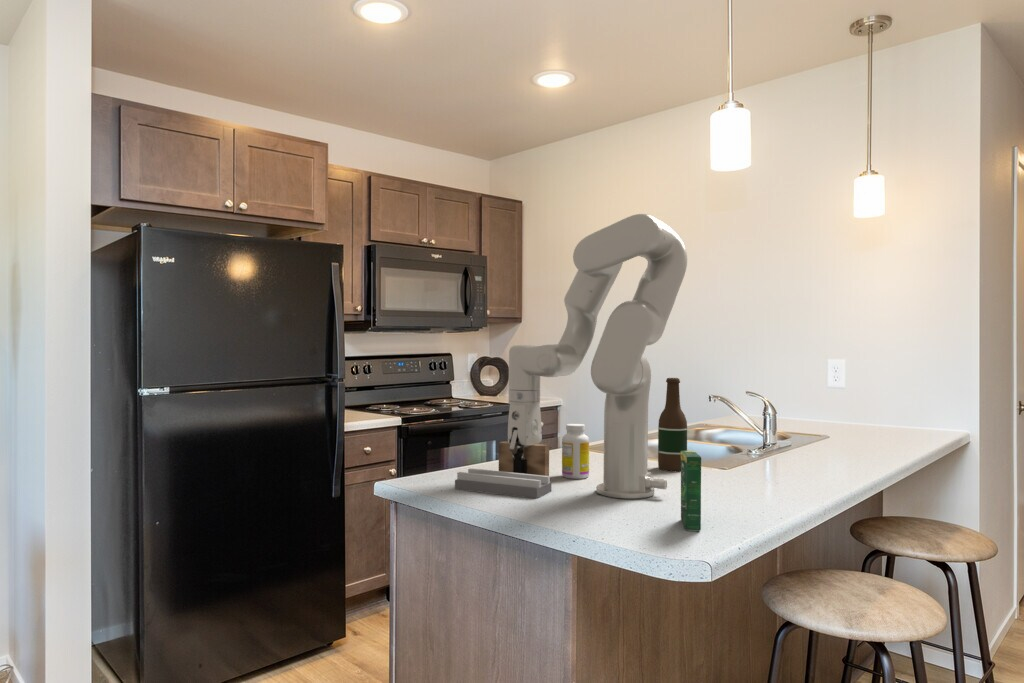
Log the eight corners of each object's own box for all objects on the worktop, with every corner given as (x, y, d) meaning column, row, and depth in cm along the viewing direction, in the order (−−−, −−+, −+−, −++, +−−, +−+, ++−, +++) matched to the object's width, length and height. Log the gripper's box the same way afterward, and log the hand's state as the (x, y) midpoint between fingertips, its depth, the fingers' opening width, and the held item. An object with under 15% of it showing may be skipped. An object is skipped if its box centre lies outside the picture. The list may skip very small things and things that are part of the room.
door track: (551, 491, 149) (551, 475, 149) (537, 498, 141) (537, 481, 141) (472, 482, 157) (472, 467, 157) (454, 489, 150) (455, 473, 150)
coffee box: (679, 519, 126) (680, 449, 126) (695, 519, 125) (695, 449, 126) (684, 530, 118) (685, 456, 118) (701, 531, 117) (702, 456, 118)
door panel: (548, 483, 158) (549, 444, 158) (544, 485, 156) (545, 446, 156) (503, 478, 163) (503, 441, 163) (498, 480, 161) (498, 442, 161)
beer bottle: (652, 466, 180) (652, 377, 180) (678, 466, 182) (679, 377, 182) (665, 472, 172) (666, 378, 172) (693, 471, 174) (693, 378, 174)
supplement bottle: (588, 474, 168) (589, 423, 168) (589, 480, 162) (589, 426, 162) (562, 473, 169) (562, 422, 169) (561, 479, 162) (561, 425, 162)
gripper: (524, 400, 150) (523, 482, 150) (552, 395, 165) (551, 470, 165) (494, 398, 154) (493, 479, 153) (524, 394, 168) (523, 467, 168)
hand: (523, 473), depth 159 cm, fingers open, 3 cm apart
